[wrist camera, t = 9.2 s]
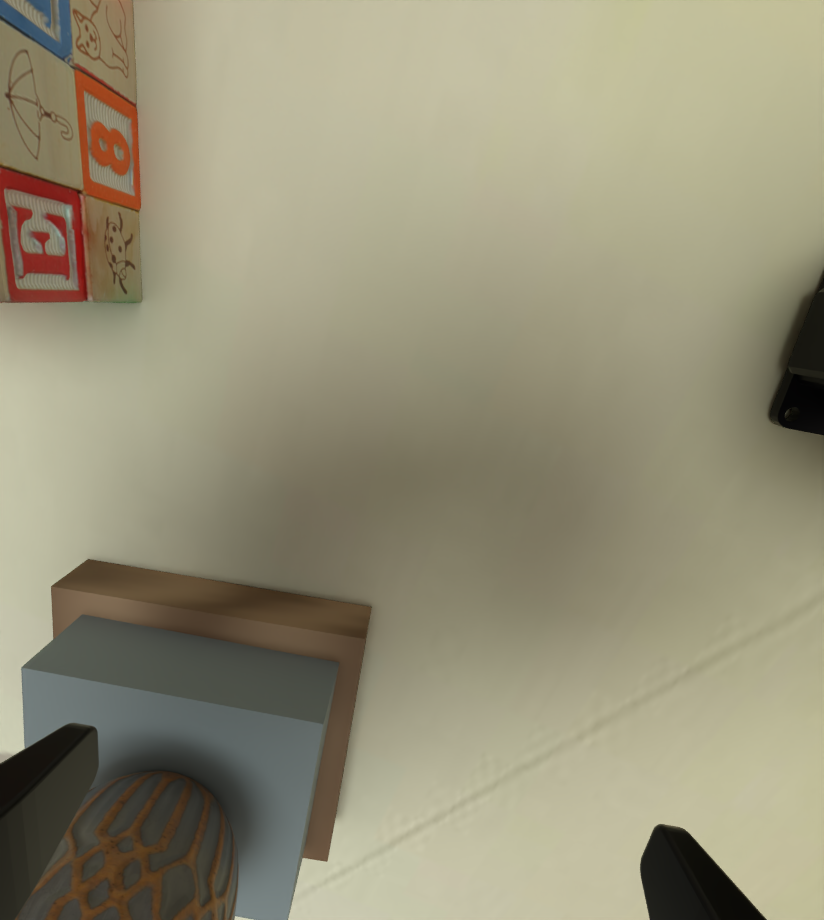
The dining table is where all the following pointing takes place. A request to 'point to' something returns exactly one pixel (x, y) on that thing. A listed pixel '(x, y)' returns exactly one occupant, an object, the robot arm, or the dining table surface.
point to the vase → (142, 855)
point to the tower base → (239, 621)
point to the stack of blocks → (68, 152)
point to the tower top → (198, 730)
